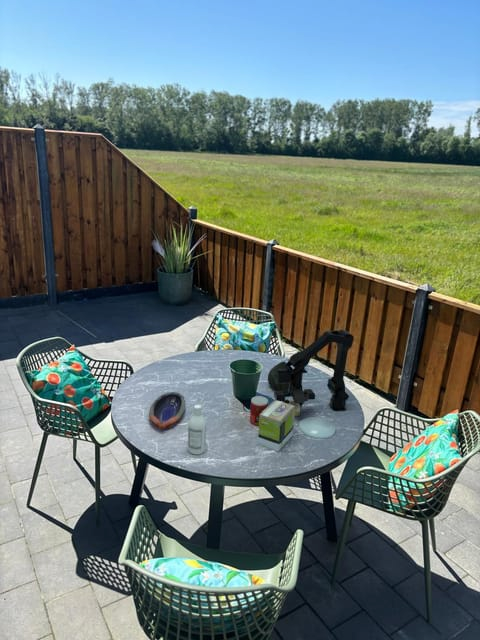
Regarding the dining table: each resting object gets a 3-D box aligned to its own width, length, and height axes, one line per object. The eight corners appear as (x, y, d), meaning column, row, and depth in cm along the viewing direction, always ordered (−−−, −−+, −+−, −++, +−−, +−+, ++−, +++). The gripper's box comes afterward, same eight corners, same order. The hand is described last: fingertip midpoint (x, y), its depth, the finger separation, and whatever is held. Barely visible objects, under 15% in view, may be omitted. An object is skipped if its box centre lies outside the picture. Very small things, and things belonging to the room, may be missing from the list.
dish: (190, 400, 223) (190, 391, 222) (176, 435, 194) (176, 425, 193) (159, 397, 224) (159, 388, 223) (141, 432, 195) (140, 422, 194)
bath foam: (196, 442, 189) (197, 400, 183) (208, 449, 185) (210, 406, 179) (184, 450, 184) (185, 406, 178) (196, 457, 180) (197, 412, 174)
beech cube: (296, 410, 219) (296, 400, 217) (299, 415, 214) (300, 406, 212) (286, 410, 218) (286, 401, 216) (289, 416, 213) (290, 406, 211)
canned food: (255, 427, 202) (256, 406, 199) (246, 419, 209) (247, 397, 206) (269, 424, 206) (271, 402, 202) (261, 415, 213) (262, 394, 209)
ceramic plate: (327, 418, 213) (327, 416, 213) (340, 437, 199) (341, 435, 198) (294, 420, 210) (294, 418, 210) (306, 440, 195) (306, 437, 195)
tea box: (272, 428, 203) (275, 398, 198) (293, 435, 198) (296, 405, 194) (256, 444, 191) (259, 413, 186) (278, 452, 186) (281, 420, 181)
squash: (278, 389, 227) (293, 363, 230) (258, 378, 238) (273, 354, 241) (292, 400, 236) (306, 376, 239) (272, 390, 247) (286, 366, 250)
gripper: (281, 390, 201) (278, 421, 206) (321, 388, 205) (317, 418, 210) (274, 379, 211) (272, 409, 216) (312, 377, 215) (309, 406, 220)
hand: (292, 411), depth 215 cm, fingers closed on beech cube, 5 cm apart
